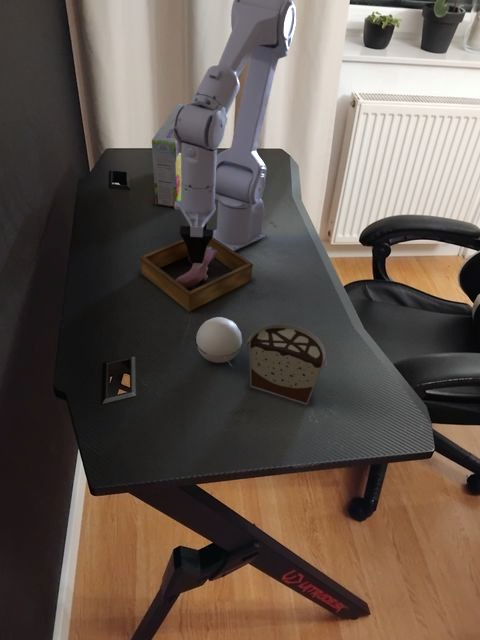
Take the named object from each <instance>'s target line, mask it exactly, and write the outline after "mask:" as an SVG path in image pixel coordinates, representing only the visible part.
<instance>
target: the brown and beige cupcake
mask: <svg viewBox="0 0 480 640" xmlns="http://www.w3.org/2000/svg"><path fill="white" fill-rule="evenodd" d="M247 347H248V356H249V357H248V359H249V361H248V362H249V387H250V388H252V389H255V390H259V391H261V392H265V393H268V394H271V395H274V396H277V397H280V398H282V399H286V400H288V401H289V400H290V401H292V402H295V403H298V404H302V405H305V406H308V404H309V402H310V399H311V397H312V394H313V392H314V390H315V387H316V384H317V382H318V379H319V376H320V374H321V372H322V369H323V371H324V373H326V372H327V362H328V361H327V353H326V352H327V351H326V349H325V346H324V344H323V342H322V341H321V339H320V338H319V337H318V336H317V335H315V334H314V333H313V332H311V331H310V330H308V329H306V328H304V327H301V326H299V325H295V324H290V323H271V324H267V325H264V326H262V327H259V328H257V330H254V332H253V333H252V334H251V335H250V336H249V338H248V339H247V341H246V343H245V345H244V348H247Z"/></svg>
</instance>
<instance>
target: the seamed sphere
mask: <svg viewBox="0 0 480 640" xmlns="http://www.w3.org/2000/svg"><path fill="white" fill-rule="evenodd" d="M194 338H195V339H194V342H195V345H196V349H197V350H198V352H199V354H200V355H201V356H202V357H203V358H204V359H205V360H207V361H209V362H212V363H215V364H223V363H227V362H228V363H229V362H230V361H231V360H233V359H234V358H235V357H236V356H237V355H238V354H239V353H240V350H241V348H242V347H243V338H242V332H241V331H240V329H239V327H238V325H237V323H235V322H234V321H233V320H231V319H228V318H226V317H222V316H217V317H212V318H210V319H207V320H205V321H204V322H203V323H202V324H201V325H200V327H199V329H198V331H197V333H196V336H195V337H194ZM229 365H230V366H231V367H233V366H232V364H231V363H229Z"/></svg>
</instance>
